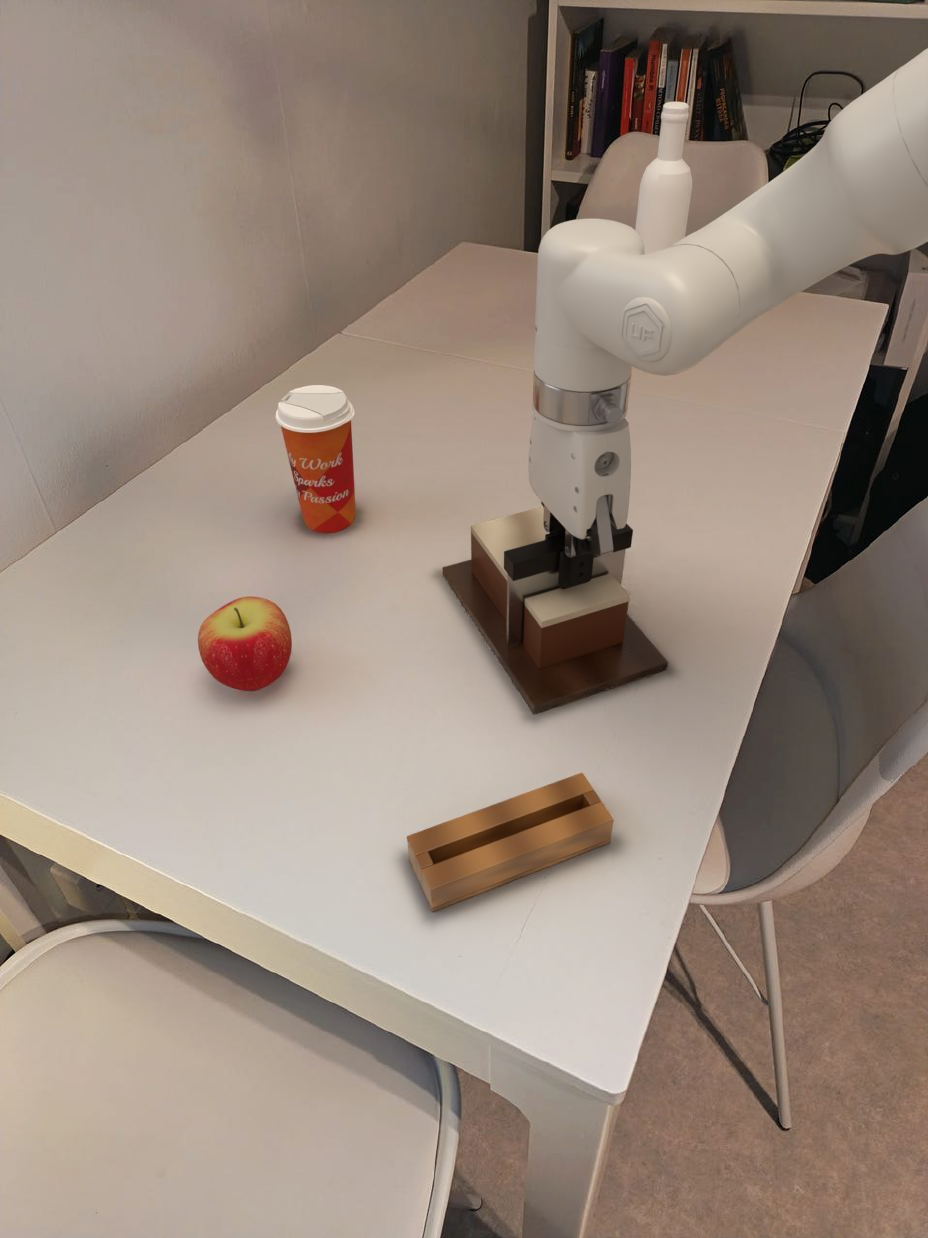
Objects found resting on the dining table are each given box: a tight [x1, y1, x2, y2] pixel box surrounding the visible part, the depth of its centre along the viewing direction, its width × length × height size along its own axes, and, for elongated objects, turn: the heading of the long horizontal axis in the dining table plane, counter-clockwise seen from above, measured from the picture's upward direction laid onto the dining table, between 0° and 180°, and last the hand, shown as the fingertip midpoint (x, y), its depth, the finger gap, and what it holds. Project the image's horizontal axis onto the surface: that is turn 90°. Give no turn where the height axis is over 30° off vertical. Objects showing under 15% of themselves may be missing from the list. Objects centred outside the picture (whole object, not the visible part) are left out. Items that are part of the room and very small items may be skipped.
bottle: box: [634, 101, 694, 254], centre depth 135 cm, size 8×8×30 cm
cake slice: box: [523, 573, 631, 669], centre depth 83 cm, size 9×4×6 cm, turn 113°
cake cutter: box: [504, 522, 634, 646], centre depth 82 cm, size 12×2×10 cm, turn 113°
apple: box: [197, 596, 293, 692], centre depth 80 cm, size 8×8×10 cm
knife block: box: [406, 772, 615, 912], centre depth 68 cm, size 15×5×3 cm, turn 113°
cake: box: [441, 506, 669, 714], centre depth 87 cm, size 14×22×7 cm, turn 23°
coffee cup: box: [275, 384, 356, 534], centre depth 98 cm, size 8×8×15 cm
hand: (567, 573), depth 81 cm, fingers closed on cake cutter, 2 cm apart
